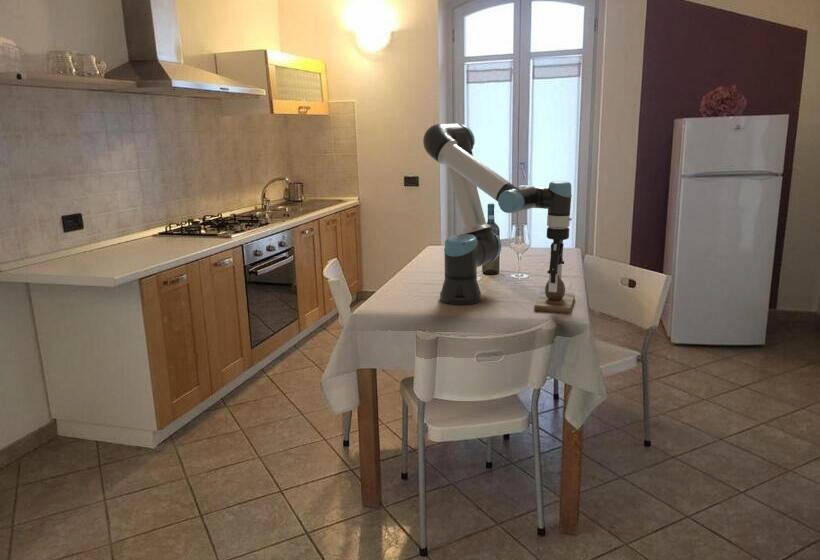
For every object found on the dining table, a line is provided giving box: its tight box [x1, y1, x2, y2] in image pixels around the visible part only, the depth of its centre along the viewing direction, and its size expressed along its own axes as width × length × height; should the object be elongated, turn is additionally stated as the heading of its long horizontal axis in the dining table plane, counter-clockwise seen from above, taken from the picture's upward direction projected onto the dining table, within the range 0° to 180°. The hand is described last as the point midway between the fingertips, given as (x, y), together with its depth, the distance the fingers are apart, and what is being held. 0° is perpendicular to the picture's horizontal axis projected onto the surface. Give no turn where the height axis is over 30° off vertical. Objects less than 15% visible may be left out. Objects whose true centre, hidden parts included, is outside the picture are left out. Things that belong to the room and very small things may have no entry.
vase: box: [544, 275, 566, 301], centre depth 216 cm, size 7×7×9 cm
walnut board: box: [533, 291, 576, 314], centre depth 218 cm, size 18×12×2 cm, turn 161°
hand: (554, 286), depth 217 cm, fingers open, 13 cm apart
